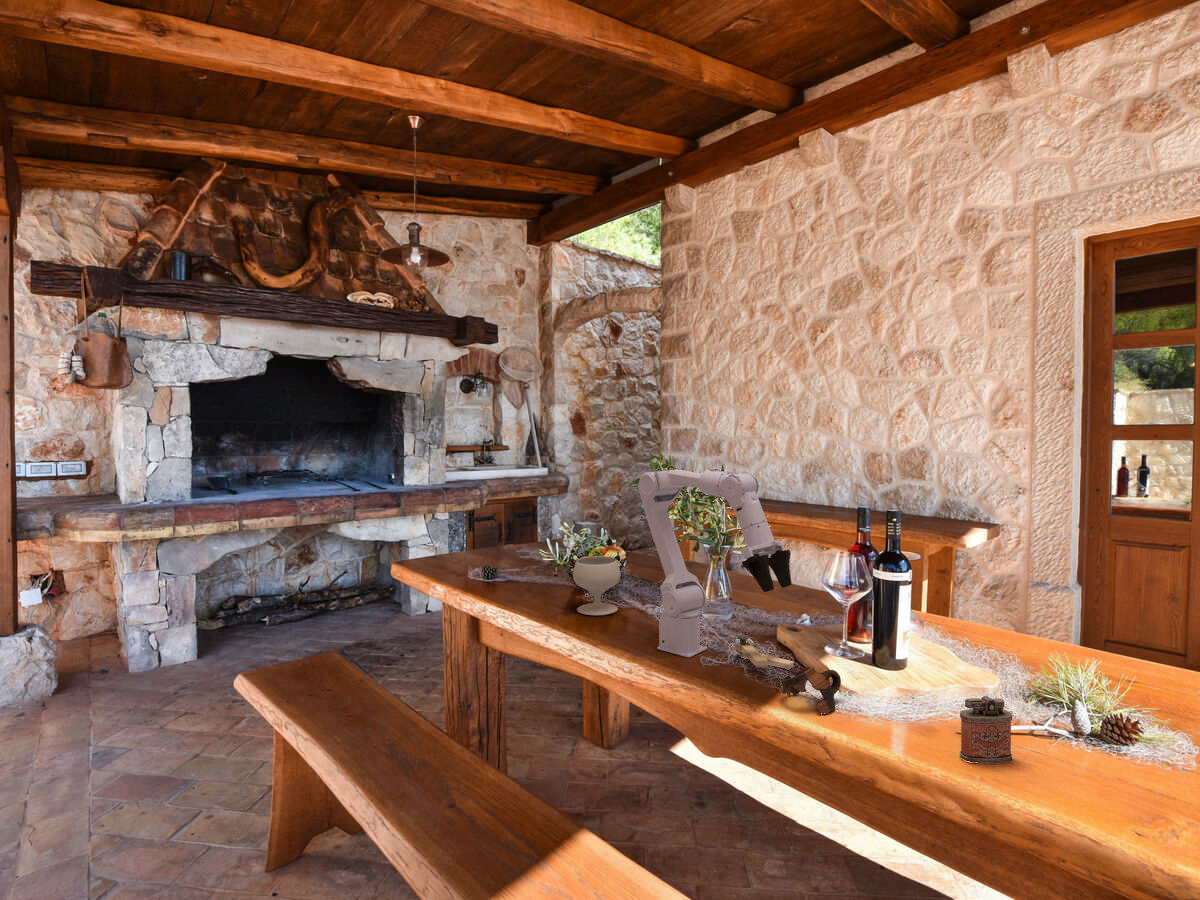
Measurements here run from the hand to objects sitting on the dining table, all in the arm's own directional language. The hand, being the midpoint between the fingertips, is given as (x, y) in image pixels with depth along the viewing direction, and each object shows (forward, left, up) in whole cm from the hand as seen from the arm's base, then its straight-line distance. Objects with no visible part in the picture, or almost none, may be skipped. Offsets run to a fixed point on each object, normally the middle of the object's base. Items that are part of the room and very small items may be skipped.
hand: (778, 588), depth 134 cm
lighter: (+39, -5, -21) cm, 44 cm away
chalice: (-66, +16, -21) cm, 71 cm away
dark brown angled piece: (+9, -3, -21) cm, 23 cm away
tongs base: (-9, +10, -20) cm, 24 cm away
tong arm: (-10, +6, -18) cm, 22 cm away
